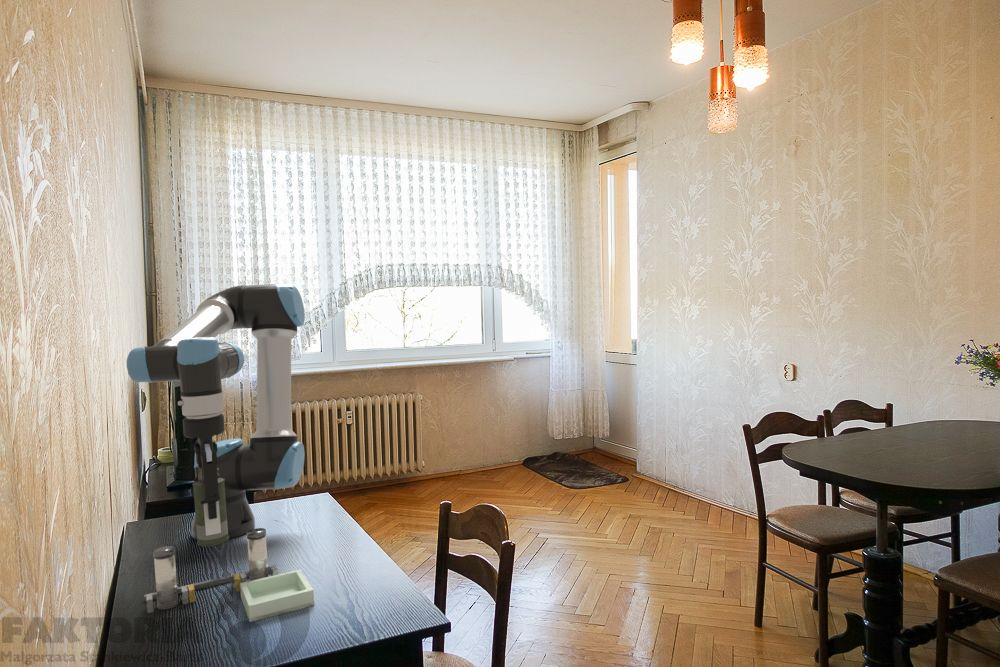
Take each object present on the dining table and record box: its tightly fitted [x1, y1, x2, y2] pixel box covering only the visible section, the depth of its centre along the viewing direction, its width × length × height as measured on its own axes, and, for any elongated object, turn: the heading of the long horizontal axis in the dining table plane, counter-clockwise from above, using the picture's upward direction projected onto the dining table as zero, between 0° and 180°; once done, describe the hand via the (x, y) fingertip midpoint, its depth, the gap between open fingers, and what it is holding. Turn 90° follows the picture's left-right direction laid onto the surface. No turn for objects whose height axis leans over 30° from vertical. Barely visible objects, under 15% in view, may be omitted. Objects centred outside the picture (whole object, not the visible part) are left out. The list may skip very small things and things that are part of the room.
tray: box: [240, 568, 315, 623], centre depth 126 cm, size 12×12×3 cm
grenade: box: [191, 468, 230, 547], centre depth 130 cm, size 6×6×15 cm
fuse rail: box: [143, 527, 279, 614], centre depth 132 cm, size 7×25×11 cm, turn 119°
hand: (211, 528), depth 130 cm, fingers closed on grenade, 6 cm apart
